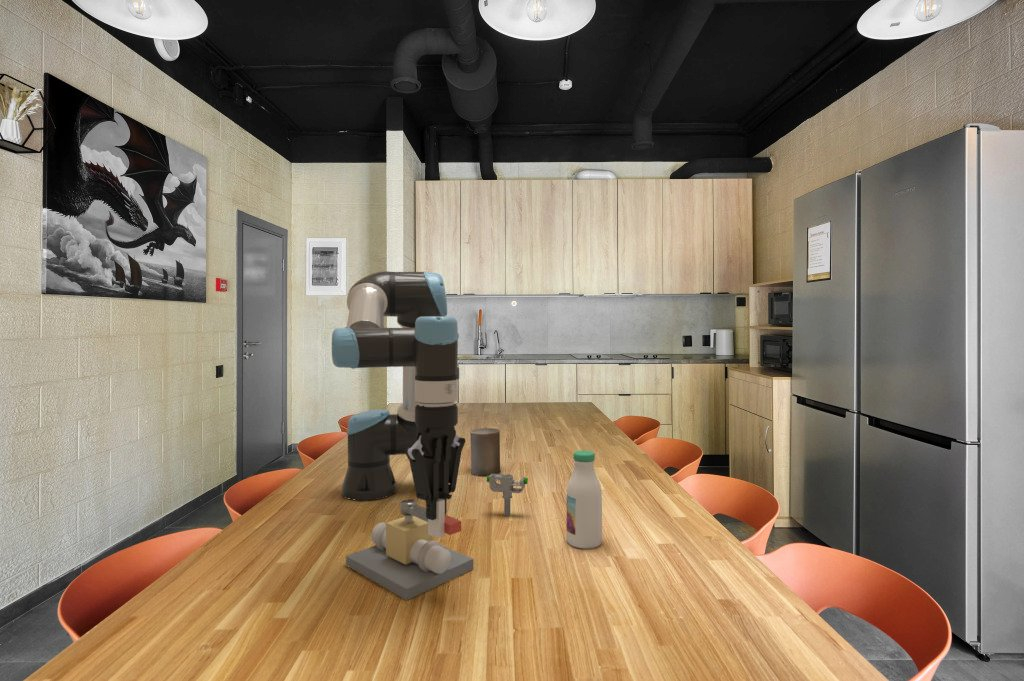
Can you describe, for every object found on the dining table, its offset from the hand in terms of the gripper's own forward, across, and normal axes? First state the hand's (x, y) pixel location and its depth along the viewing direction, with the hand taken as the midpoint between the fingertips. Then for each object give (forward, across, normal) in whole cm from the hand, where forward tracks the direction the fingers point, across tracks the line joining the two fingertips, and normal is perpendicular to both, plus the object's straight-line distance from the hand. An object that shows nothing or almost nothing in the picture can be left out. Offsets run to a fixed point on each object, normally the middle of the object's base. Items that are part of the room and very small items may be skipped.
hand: (436, 535), depth 94 cm
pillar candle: (+10, +65, +44) cm, 79 cm away
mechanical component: (+11, +38, +14) cm, 42 cm away
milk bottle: (+10, +35, -10) cm, 38 cm away
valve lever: (-1, +3, +5) cm, 6 cm away
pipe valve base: (+11, +4, +12) cm, 16 cm away
